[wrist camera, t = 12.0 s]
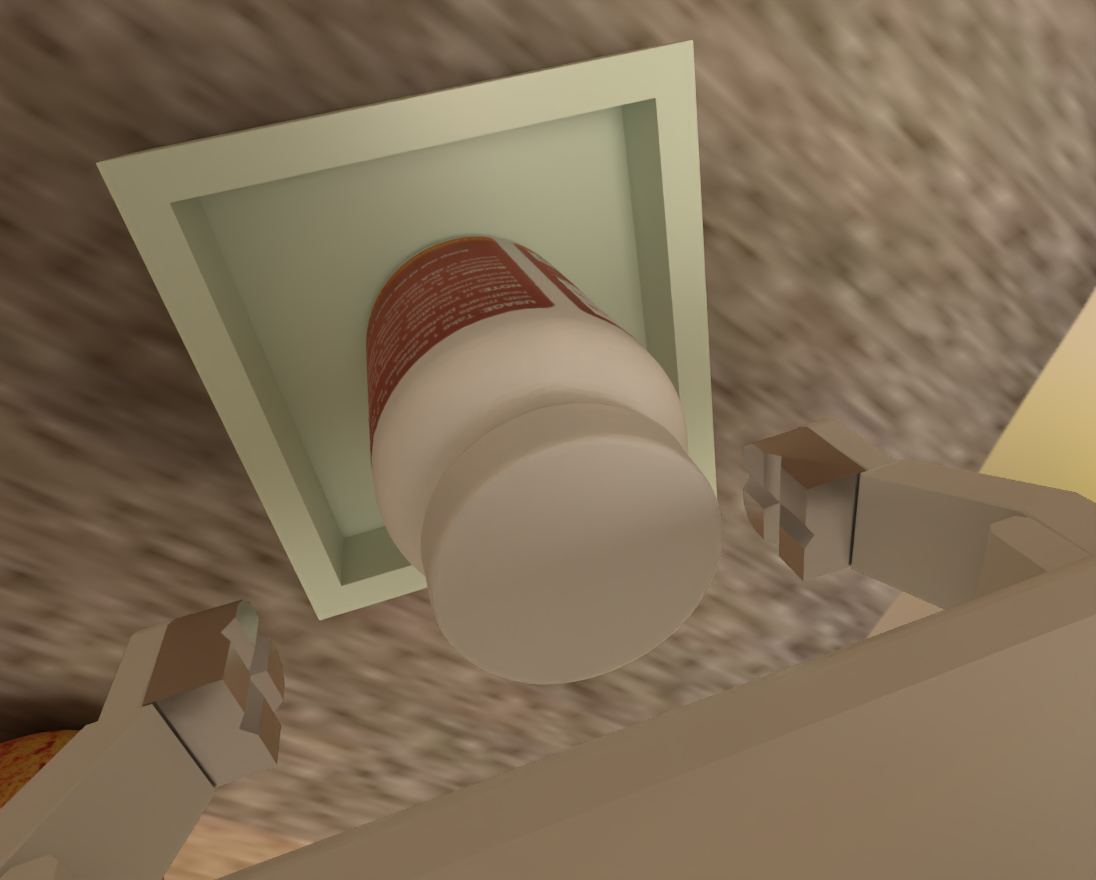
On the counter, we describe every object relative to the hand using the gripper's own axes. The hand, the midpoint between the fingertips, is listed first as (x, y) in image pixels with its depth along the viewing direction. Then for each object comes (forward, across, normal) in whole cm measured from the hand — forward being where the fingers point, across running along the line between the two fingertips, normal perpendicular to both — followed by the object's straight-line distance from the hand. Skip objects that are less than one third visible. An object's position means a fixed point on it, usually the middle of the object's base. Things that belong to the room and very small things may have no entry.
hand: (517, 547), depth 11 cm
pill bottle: (+10, -1, 0) cm, 10 cm away
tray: (+11, -1, 0) cm, 11 cm away
